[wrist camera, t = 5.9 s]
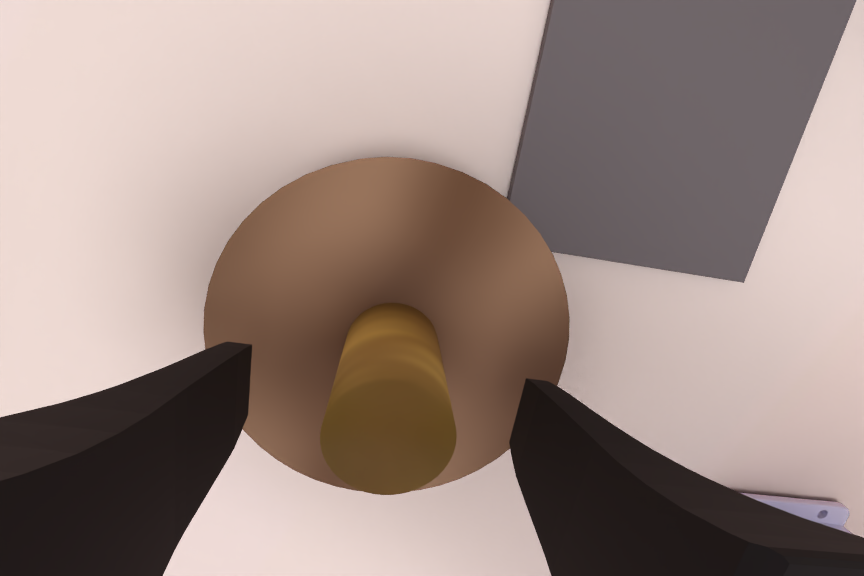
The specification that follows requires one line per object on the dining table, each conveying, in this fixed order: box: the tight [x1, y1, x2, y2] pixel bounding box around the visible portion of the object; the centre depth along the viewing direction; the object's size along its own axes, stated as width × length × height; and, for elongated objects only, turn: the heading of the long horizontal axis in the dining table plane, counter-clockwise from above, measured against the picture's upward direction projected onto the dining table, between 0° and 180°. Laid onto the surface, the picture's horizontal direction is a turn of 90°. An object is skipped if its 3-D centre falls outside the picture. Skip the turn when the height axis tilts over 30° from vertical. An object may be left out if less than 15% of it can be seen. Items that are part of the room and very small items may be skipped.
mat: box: [507, 0, 856, 283], centre depth 15 cm, size 10×10×1 cm
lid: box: [204, 157, 569, 495], centre depth 11 cm, size 11×11×5 cm
